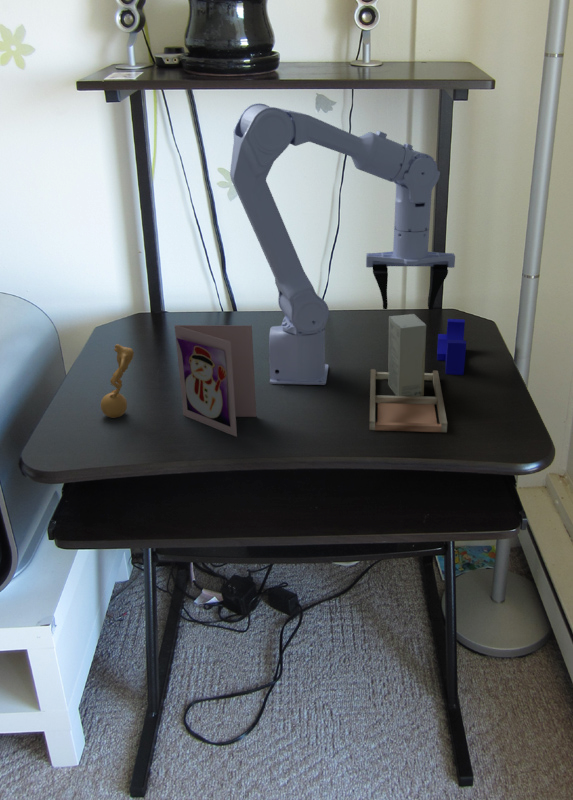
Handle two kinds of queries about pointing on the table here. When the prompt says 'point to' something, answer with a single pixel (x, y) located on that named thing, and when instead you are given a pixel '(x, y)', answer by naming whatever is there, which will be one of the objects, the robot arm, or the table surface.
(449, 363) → the cable clip
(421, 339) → the skincare box
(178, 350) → the greeting card
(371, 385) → the pink framed panel
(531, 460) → the table surface
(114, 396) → the figurine
